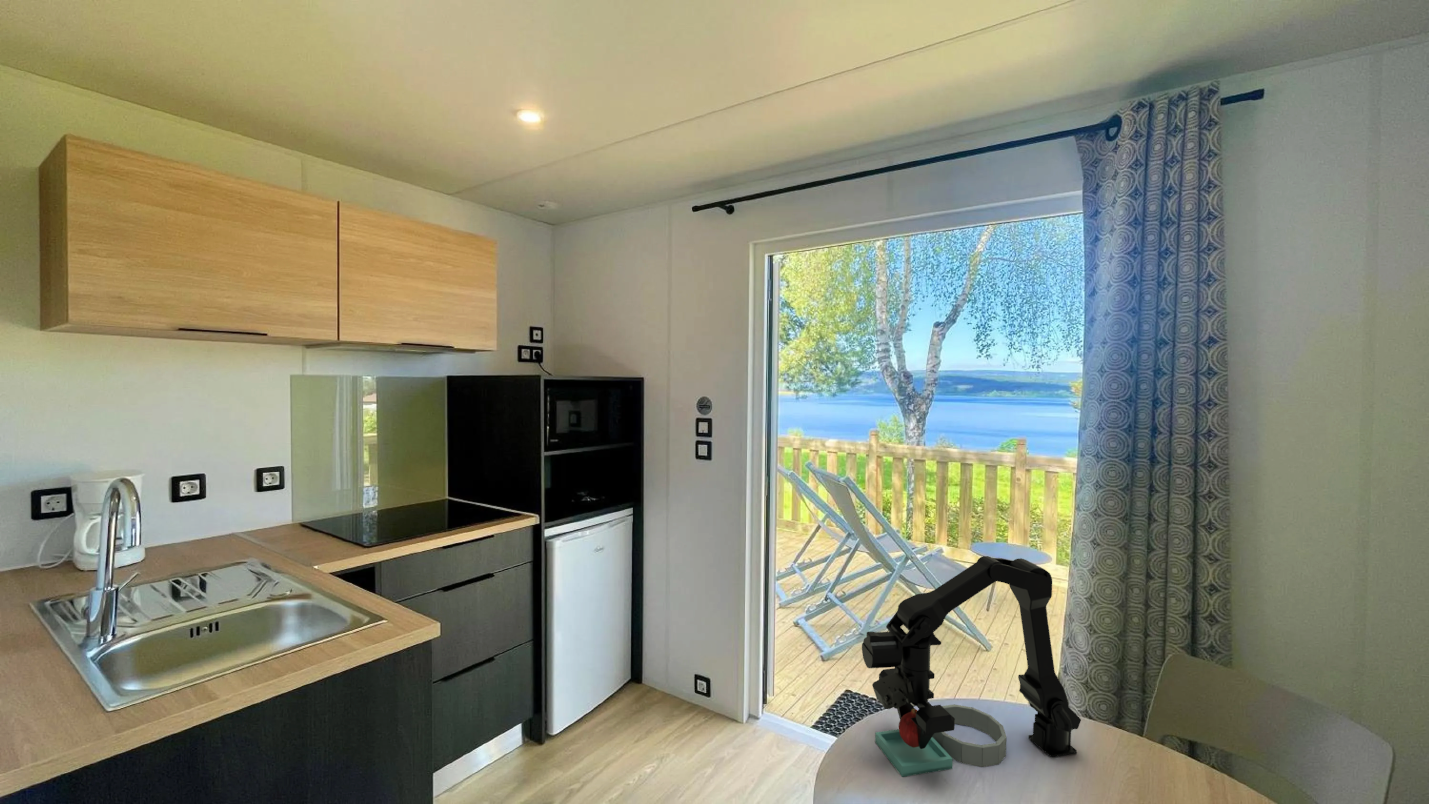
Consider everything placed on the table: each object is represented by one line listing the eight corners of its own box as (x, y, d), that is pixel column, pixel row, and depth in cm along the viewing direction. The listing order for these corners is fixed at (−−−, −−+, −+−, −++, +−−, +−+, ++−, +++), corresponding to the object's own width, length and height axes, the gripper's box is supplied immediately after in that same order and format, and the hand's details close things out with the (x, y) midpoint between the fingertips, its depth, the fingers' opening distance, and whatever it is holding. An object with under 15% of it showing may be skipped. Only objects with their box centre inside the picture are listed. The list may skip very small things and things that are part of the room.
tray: (921, 735, 122) (921, 725, 122) (952, 768, 112) (952, 758, 112) (875, 741, 120) (875, 732, 120) (902, 776, 109) (902, 766, 109)
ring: (974, 718, 128) (974, 701, 128) (1020, 760, 114) (1021, 741, 114) (918, 726, 125) (918, 709, 125) (958, 770, 111) (959, 751, 111)
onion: (930, 758, 112) (931, 720, 112) (900, 754, 113) (901, 716, 113) (925, 739, 118) (926, 702, 117) (896, 735, 119) (897, 699, 118)
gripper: (857, 646, 122) (856, 716, 123) (904, 694, 104) (902, 776, 105) (903, 641, 124) (902, 709, 125) (957, 687, 106) (955, 767, 107)
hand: (913, 738), depth 116 cm, fingers closed on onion, 6 cm apart
